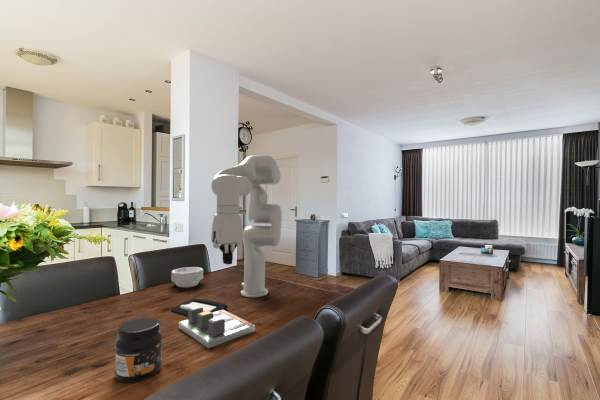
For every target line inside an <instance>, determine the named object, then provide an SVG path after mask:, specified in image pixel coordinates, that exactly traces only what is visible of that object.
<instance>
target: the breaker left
mask: <svg viewBox="0 0 600 400" xmlns="http://www.w3.org/2000/svg"><path fill="white" fill-rule="evenodd" d="M202 312H203V308H202V307H200V306H194V307H190V308H189V309H188V317H187V320H188V321H190V322H191V323H193V322H197V321H198V314H199V313H202Z"/></svg>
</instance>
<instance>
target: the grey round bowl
mask: <svg viewBox="0 0 600 400" xmlns="http://www.w3.org/2000/svg"><path fill="white" fill-rule="evenodd" d="M203 279H204V268H202V267H198V266H190V267H189V266H188V267H180V268H176V269H173V270H171V282H173V283H174V284H175V285H176V287H179V288H192V287H195V286H198V284H200V283H199V282H200V281H201V280H203Z"/></svg>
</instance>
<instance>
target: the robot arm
mask: <svg viewBox="0 0 600 400" xmlns="http://www.w3.org/2000/svg"><path fill="white" fill-rule="evenodd" d="M280 180H281V172H280V167H279V166H278V164H277V161H276V159H274V157H272V156H271V155H249V156H247V157H246V158H244V160H243V161H241V163H239V164H237V165H234V166H232V167H228V168H225V169H222V170H221V171H219V172H217V174H216V175H215V176H214V177H213V179H212V182H211V191H212V193H213V194H214V195H215V196H216V214H214V215H213V219H212V224H211V236H210V237H211V238H210V239H211V243H213V244H212V248H214V249H219V250H220V251H221V253H222V263H223V264H225V265H232V264H233V259H234V258H233V257H234V256H233V253H234V252H235V250H236V248H237V247H239V246H241V245H242V244H243V251H244V254H243V256H244V257H243V258H244V261H243V262H244V265H243V266H244V267H243V268H244V272H243V273H244V275H243V277H244V279H243V281H244V282H241V284H240V285H241V287H243V289H241V290H240V295H241V296H242V297H245V298H260V297H261V298H262V297H264V296H267V295H268V294H269V290H268V288H266V286H265V285H266V254H265V252H264V251H263V249H262V248H261V247H269V248H270V247H271V248H273V247H277V246H279V244H280V242H281V234H282V231H281V230H282V220H283V219H282V218H283V216H282V215H283V213H282V208H281V205H279V204H276V203H268V197H269V195H268V193H267V191H266V190H265V189H264V187H262V185H277V184H279V183H280ZM248 195H249V203H248V204H249V205H248V214H247V218H248V221H249V222H250V223H251V224H258V225H249V226H246V227H244V228H243V222H242V217H241V214H240V211H242V210H243V209H242V207H240V197H245V196H248ZM259 224H260V225H259ZM261 224H263V225H261Z"/></svg>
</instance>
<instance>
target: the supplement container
mask: <svg viewBox="0 0 600 400" xmlns="http://www.w3.org/2000/svg"><path fill="white" fill-rule="evenodd" d="M116 329H117V331H116V333H117V334H116V335H117V338H116V339H115V341H114V348H115V351H114V352H115V354H114V355H115V357H114V359H115V360H114V365H115V366H114V367H115V368H114V376H115V378H116V380H117V381H119V382H120V381H121V382H124V383H136V382H135V381H137V382H141V381H144V380H146V378H147V379H149V378H150V377H152V376H154V375H155V374H156V373H158V372H159V370H160V369H161V367H162V363H163V360H162V339H163V334H162V333H163V332H161V330H160V329H161V321H160V320H159V319H157V318H155V317H142V318H141V317H140V318H134V319H132V320H128V321H125V322H123V323H121V324H120V325H119V326H118V327H117V328H116ZM143 379H144V380H143ZM140 380H141V381H140Z"/></svg>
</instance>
